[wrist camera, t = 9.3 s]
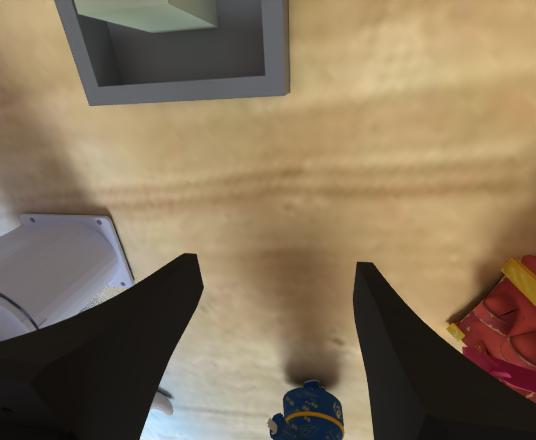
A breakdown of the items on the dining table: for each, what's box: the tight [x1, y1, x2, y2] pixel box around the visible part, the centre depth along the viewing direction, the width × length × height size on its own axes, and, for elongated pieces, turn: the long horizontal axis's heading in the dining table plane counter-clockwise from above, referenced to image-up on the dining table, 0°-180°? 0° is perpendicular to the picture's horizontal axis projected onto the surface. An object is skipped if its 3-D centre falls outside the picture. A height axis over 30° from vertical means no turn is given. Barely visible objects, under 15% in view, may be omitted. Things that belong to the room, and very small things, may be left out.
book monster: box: [446, 255, 536, 403], centre depth 17 cm, size 11×9×12 cm
